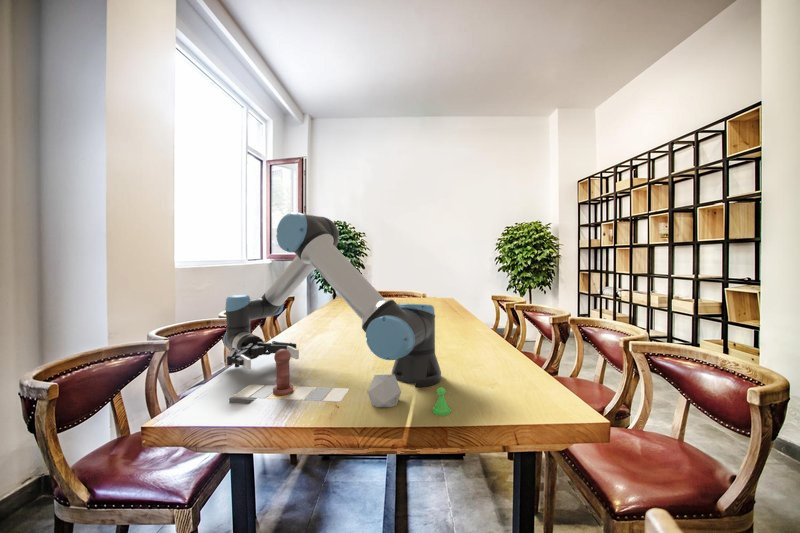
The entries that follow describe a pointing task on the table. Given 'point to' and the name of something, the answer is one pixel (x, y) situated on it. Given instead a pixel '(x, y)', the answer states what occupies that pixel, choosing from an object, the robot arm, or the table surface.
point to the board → (299, 394)
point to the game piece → (441, 403)
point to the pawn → (282, 373)
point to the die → (384, 391)
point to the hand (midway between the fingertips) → (274, 359)
